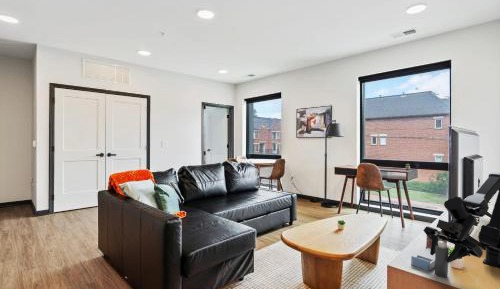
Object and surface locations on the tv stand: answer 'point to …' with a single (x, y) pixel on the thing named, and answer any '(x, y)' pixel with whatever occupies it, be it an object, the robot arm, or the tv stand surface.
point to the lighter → (429, 241)
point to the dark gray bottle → (441, 259)
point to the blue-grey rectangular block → (424, 260)
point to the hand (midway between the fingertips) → (439, 258)
